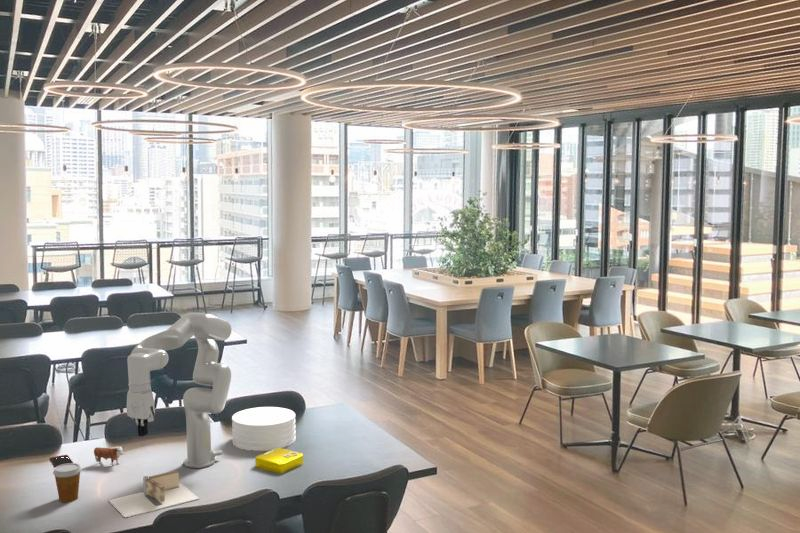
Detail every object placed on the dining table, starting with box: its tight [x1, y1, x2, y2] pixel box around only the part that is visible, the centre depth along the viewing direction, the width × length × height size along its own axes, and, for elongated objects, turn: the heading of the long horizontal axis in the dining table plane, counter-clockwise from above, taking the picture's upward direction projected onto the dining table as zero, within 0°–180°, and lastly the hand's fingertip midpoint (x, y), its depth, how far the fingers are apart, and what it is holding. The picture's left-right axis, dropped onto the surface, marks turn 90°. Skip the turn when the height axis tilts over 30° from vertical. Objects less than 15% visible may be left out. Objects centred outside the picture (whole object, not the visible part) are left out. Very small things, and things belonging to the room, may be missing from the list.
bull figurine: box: [93, 446, 125, 467], centre depth 323 cm, size 4×13×8 cm, turn 79°
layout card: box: [108, 470, 200, 519], centre depth 288 cm, size 27×18×7 cm, turn 127°
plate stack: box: [231, 406, 297, 452], centre depth 354 cm, size 28×28×12 cm
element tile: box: [254, 448, 304, 474], centre depth 324 cm, size 15×15×5 cm
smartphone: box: [49, 454, 74, 468], centre depth 326 cm, size 7×1×15 cm
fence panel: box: [146, 478, 165, 502], centre depth 288 cm, size 11×1×6 cm, turn 46°
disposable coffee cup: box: [52, 462, 82, 503], centre depth 288 cm, size 10×10×12 cm
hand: (143, 434), depth 292 cm, fingers closed
